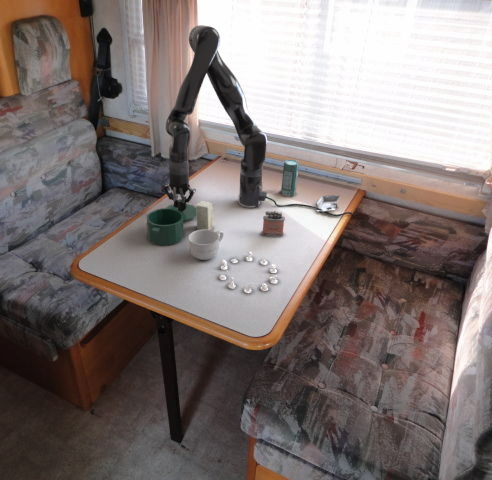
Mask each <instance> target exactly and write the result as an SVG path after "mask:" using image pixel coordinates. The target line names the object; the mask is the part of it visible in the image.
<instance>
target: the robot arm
mask: <svg viewBox="0 0 492 480" xmlns="http://www.w3.org/2000/svg"><path fill="white" fill-rule="evenodd" d="M188 44H189V47H190V48H191V51H192V52H193V59H192V62H191V65H190V67H189V70H188V72H187V74H186V75H185V77H184V79H183V81H182V83H181V84H180V87H179V90H178V93H177V95H176V96H177V97H176V100H175V104H174V105H173V108H172V109H171V111H170V113H169V115H168V116H167V119H166V122H165V131H166V133H167V134H168V135H169V136H170V137H172V139H173V141H172V143H171V144H170V146H169V149H168V153H169V154H168V155H169V157H168V158H169V162H168V170H169V171H168V172H169V183H167V184H165V185H164V186H163V190H164V192H165V194H166V196H167V198H168V200H169V201H171V200H172V201H173V204H174V207H176V208H177V200H179V196H180V199H182V211H184V210H185V209H186V208H187V204H189V202H191V200H192V199H193V198H194V195H195V193H196V191H197V189H196V188H192V186H191V185H190V167H189V165H190V164H189V154H188V153H189V151H188V149H189V145H190V142H191V135H192V134H191V126H190V125H189V123H187V121H185V120H186V119H187V116H189V115H192V114H193V112H194V110H195V107H196V104H197V100H198V98H199V96H200V95H199V94H200V91H201V88H202V85H203V83H204V80H205V78H206V75H207V77H208V80H209V82H210V84H211V86H212V88H213V89H214V92H215V94H216V97H217V98H218V100H219V102H220V104H221V106H222V108H223V109H224V110H225V113H226V114H227V116H228V117H229V118H230V120H231V122H232V125H233V126H234V128H235V131H236V133H237V134H236V135H237V136H238V140H239V141H240V144H241V145H242V147H244V152H243V156H242V158H241V159H240V170H239V171H240V172H239V193H238V204H239V206H241V207H242V208H243V207H244V208H248V209H255V208H257V209H258V208H259V207H260V205H261V204H262V202H265V201H266V199H267V200H270V201H271V202H273V203H274V205H275V206H276V207H278V208H285V207H293V206H294V207H295V206H298V207H306V208H309V209H310V208H311V209H314V210H317V209H318V210H322V209H320V208H317V206H314V205H309V204H304V203H303V204H302V203H289V204H284V205H283V204H281V205H280V204H278V203H277V201H276V200H275V199H273V198H272V197H269V196H268V192H266V191H263V187H264V181H263V171H264V163H265V162H266V158H267V157H266V156H267V150H268V149H267V147H268V138H267V134H266V133H265V132H264V131H263V130H262V129H260V127H258V126H257V124H256V123H255V121H254V119H253V118H252V115H251V114H250V111H249V109H248V104H247V98H246V96H245V93H244V90H243V89H242V86H241V84H240V82H239V80H238V79H237V77H236V76H235V74H234V73H233V72H232V70H231V68H229V66H228V65H227V64H226V62H224V59H222V57H221V54H220V52H219V47H220V44H221V36H220V33H219V32H218V30H217V29H216V28H215V27H213V26H209V25H204V24H203V25H202V24H201V25H200V24H199V25H195V26H193V27H192V29H190V32H189V33H188ZM187 192H188V194H187ZM187 195H188V196H187ZM321 213H324V214H325V215H328V216H332V217H341V216H344V215H352V216H353V217H355V216H356V215H355V213H354V212H351V211H345V212H342V213H338V214H337V213H330V212H329V211H326V212H323V211H322V212H321Z"/></svg>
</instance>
